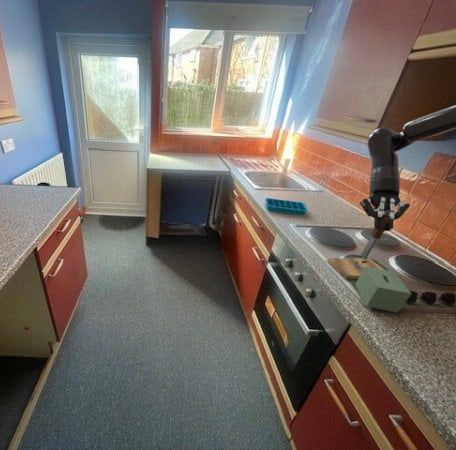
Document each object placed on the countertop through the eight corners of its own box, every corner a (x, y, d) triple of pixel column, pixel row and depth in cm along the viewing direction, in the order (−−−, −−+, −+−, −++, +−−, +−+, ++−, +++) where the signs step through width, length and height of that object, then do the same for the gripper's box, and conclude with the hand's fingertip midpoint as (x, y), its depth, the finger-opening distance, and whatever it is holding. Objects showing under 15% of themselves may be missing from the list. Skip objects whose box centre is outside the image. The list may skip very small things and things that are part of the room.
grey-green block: (354, 284, 85) (364, 266, 81) (382, 290, 83) (394, 271, 79) (366, 306, 77) (378, 287, 73) (397, 313, 75) (411, 293, 71)
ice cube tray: (263, 202, 144) (265, 197, 142) (302, 207, 139) (303, 202, 137) (265, 210, 134) (266, 205, 132) (306, 216, 129) (308, 211, 127)
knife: (359, 254, 91) (381, 213, 82) (364, 255, 90) (387, 214, 82) (361, 259, 89) (385, 217, 80) (367, 260, 88) (391, 218, 80)
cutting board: (367, 261, 97) (369, 257, 96) (389, 278, 88) (391, 275, 87) (327, 261, 96) (329, 258, 95) (346, 278, 87) (347, 275, 87)
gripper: (400, 189, 87) (400, 236, 83) (355, 184, 91) (353, 229, 86) (417, 179, 80) (418, 230, 76) (367, 174, 84) (365, 223, 79)
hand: (383, 229), depth 81 cm, fingers closed on knife, 2 cm apart
